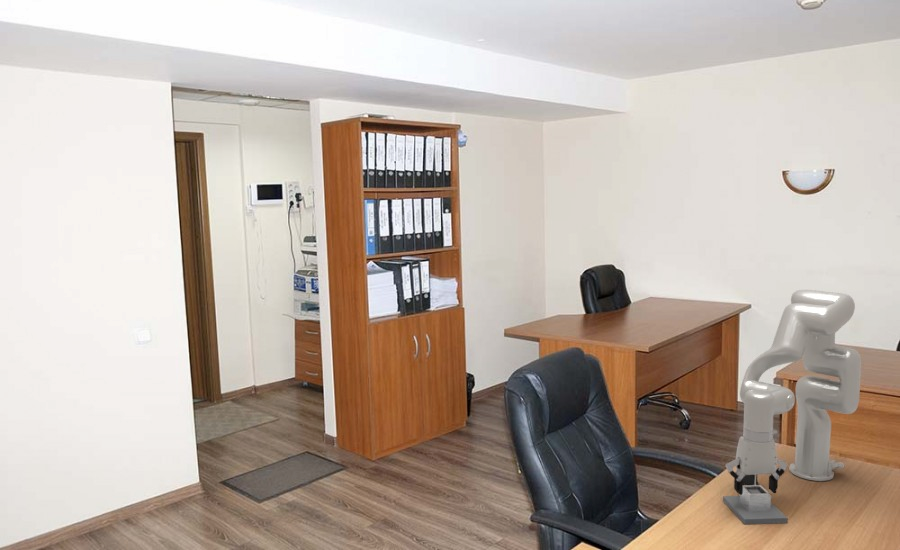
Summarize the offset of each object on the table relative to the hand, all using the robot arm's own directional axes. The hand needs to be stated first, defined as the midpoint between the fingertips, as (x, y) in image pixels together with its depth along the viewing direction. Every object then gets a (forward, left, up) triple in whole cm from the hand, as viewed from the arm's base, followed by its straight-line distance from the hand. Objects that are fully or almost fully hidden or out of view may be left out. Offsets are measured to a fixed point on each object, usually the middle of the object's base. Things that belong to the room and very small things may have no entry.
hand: (755, 491), depth 194 cm
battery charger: (-7, -18, -6) cm, 20 cm away
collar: (0, 0, -4) cm, 4 cm away
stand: (0, 0, -6) cm, 6 cm away
